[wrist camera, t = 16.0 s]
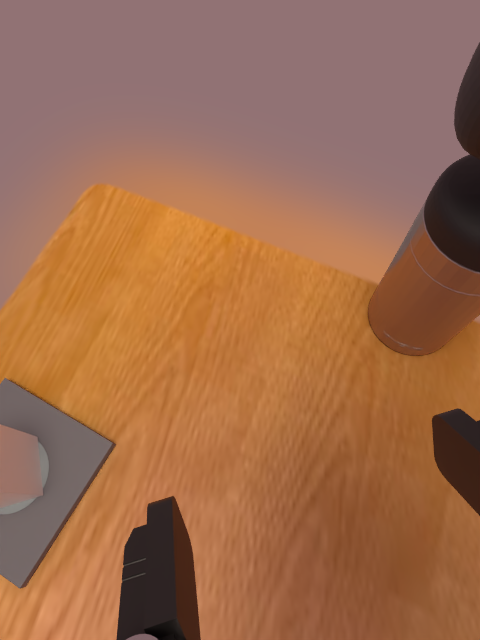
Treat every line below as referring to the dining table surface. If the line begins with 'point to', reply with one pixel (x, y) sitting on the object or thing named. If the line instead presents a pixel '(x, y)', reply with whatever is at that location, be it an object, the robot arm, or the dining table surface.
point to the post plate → (45, 479)
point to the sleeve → (19, 467)
